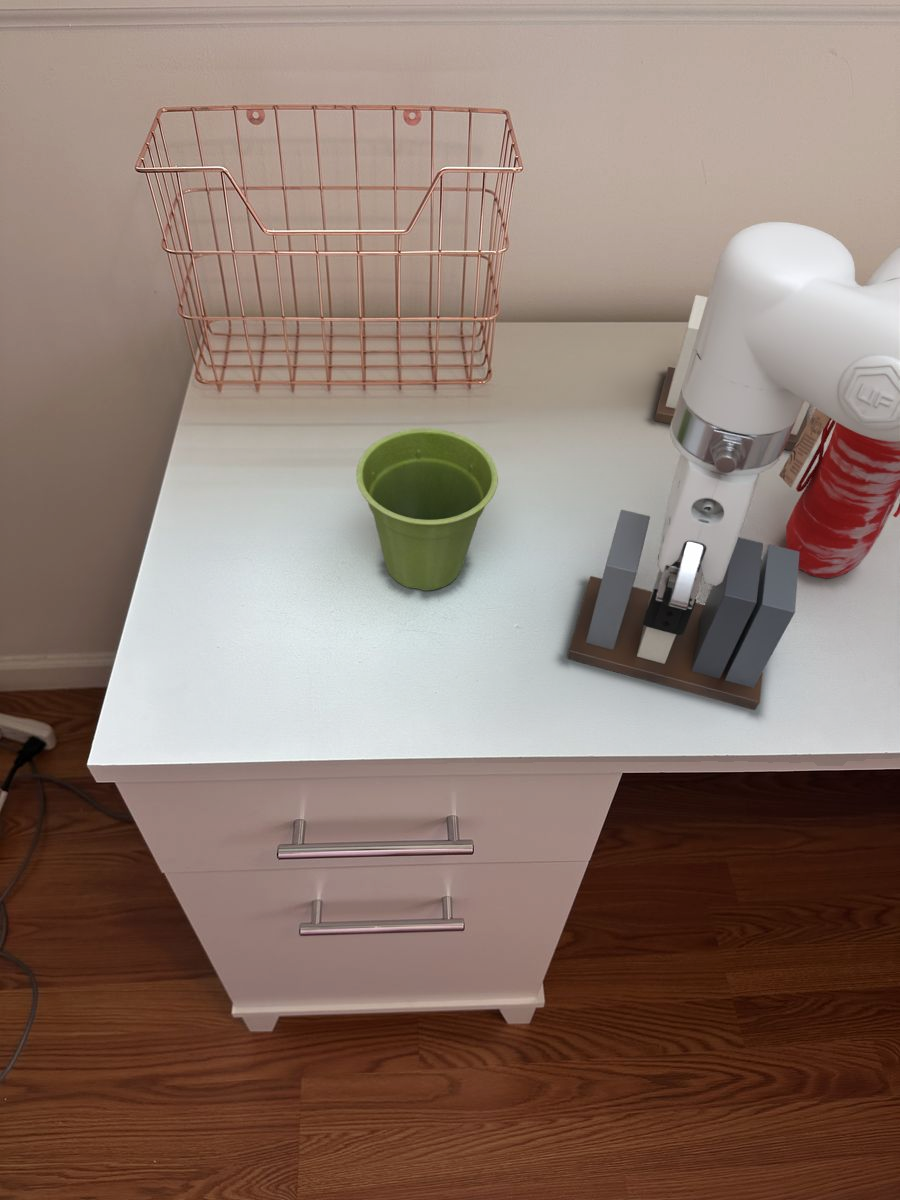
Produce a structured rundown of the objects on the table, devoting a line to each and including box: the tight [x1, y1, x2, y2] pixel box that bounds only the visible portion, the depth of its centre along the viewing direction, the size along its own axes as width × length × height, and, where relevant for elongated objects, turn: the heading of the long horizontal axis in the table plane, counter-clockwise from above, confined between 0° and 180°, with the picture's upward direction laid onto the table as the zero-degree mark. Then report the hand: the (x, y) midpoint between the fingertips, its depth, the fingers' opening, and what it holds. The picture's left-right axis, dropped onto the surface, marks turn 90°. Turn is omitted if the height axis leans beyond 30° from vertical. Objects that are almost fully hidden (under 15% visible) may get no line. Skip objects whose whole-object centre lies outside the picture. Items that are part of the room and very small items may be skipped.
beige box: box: [637, 557, 681, 664], centre depth 70 cm, size 2×6×10 cm, turn 162°
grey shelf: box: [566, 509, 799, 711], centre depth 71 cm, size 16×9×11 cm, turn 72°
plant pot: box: [355, 427, 499, 591], centre depth 76 cm, size 12×12×11 cm
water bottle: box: [778, 408, 900, 579], centre depth 73 cm, size 12×8×25 cm, turn 33°
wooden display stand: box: [653, 294, 811, 452], centre depth 92 cm, size 16×9×11 cm, turn 72°
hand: (670, 593), depth 70 cm, fingers closed on beige box, 6 cm apart
